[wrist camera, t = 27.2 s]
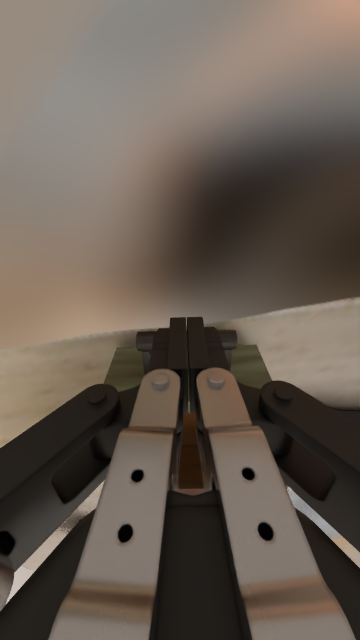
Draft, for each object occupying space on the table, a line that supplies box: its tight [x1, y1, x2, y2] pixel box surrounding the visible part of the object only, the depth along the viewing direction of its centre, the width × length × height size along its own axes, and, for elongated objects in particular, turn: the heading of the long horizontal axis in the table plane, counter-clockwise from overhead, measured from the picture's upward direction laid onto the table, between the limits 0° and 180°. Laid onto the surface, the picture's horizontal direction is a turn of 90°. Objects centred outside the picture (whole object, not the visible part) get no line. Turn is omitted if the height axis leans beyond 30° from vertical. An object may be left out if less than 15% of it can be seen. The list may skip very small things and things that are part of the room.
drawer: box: [104, 330, 272, 482], centre depth 23 cm, size 18×13×7 cm
